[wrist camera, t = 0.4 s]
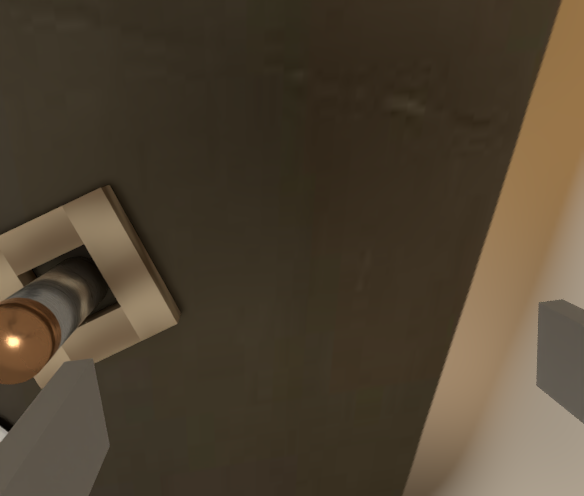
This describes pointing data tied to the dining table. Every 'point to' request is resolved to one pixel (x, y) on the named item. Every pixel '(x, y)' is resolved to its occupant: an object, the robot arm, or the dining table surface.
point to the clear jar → (46, 316)
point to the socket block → (112, 264)
